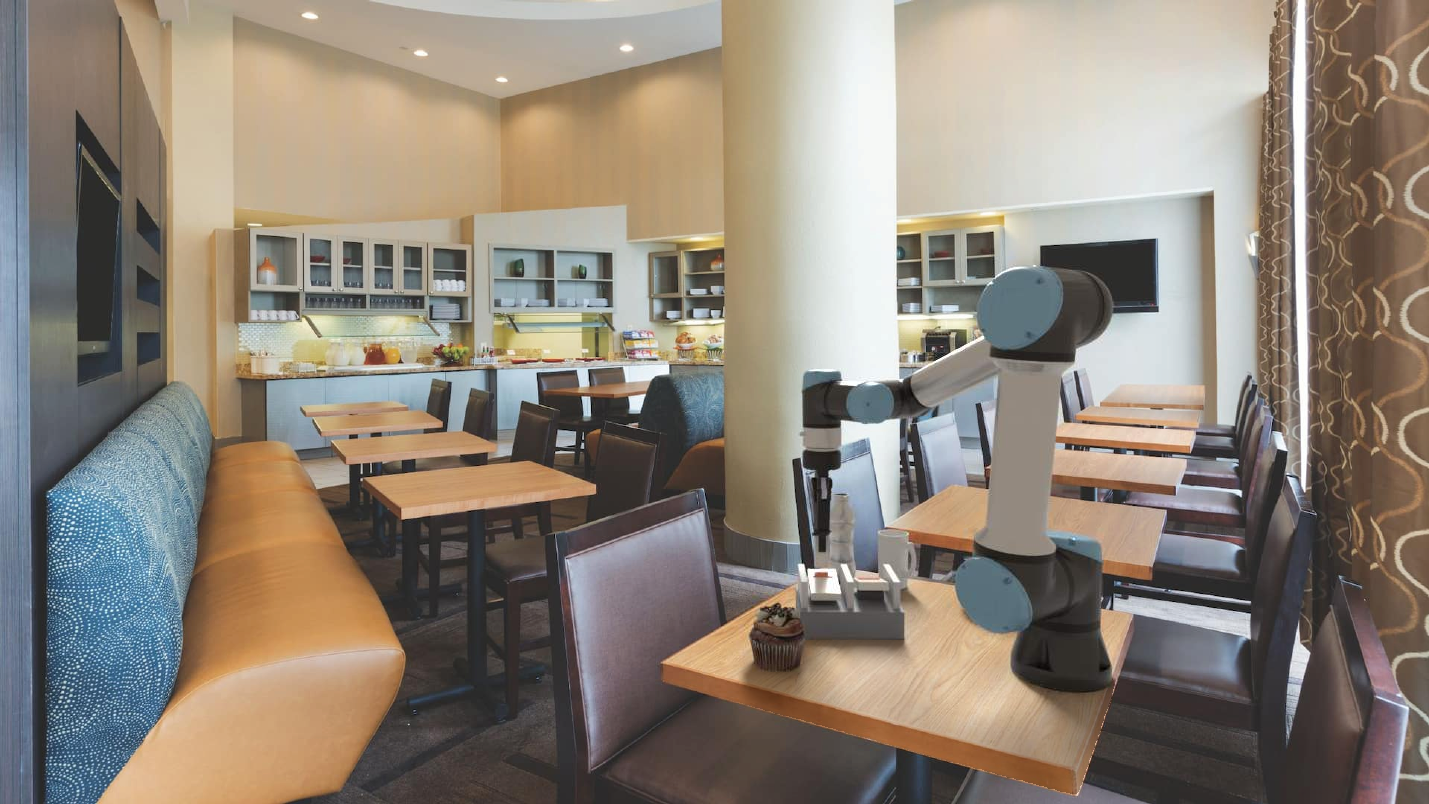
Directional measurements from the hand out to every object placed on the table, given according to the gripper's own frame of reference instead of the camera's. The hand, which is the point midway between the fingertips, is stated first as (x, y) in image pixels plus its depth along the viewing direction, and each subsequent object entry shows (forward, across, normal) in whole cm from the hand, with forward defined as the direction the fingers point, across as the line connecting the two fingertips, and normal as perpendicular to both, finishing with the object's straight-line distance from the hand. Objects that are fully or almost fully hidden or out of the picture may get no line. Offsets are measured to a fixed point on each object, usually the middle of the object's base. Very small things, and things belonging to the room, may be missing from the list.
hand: (821, 566), depth 153 cm
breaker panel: (+10, +4, +5) cm, 12 cm away
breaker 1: (+3, +4, 0) cm, 5 cm away
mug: (+10, -19, +19) cm, 29 cm away
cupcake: (+10, +23, -9) cm, 27 cm away
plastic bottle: (+11, -24, +7) cm, 27 cm away
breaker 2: (+3, +4, +9) cm, 10 cm away
